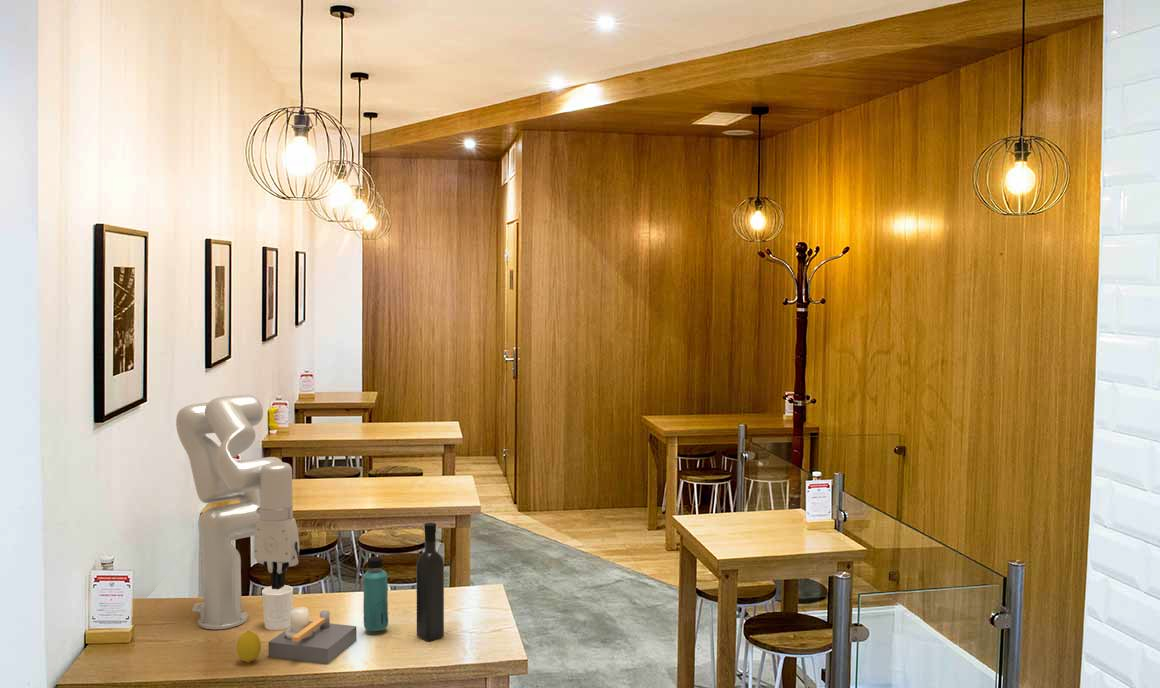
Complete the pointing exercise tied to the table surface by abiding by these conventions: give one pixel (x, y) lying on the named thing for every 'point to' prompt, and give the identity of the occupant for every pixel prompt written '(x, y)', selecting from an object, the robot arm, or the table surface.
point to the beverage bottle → (375, 596)
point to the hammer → (314, 626)
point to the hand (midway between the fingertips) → (278, 587)
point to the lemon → (248, 646)
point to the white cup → (277, 607)
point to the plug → (298, 622)
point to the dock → (315, 644)
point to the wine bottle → (430, 589)
